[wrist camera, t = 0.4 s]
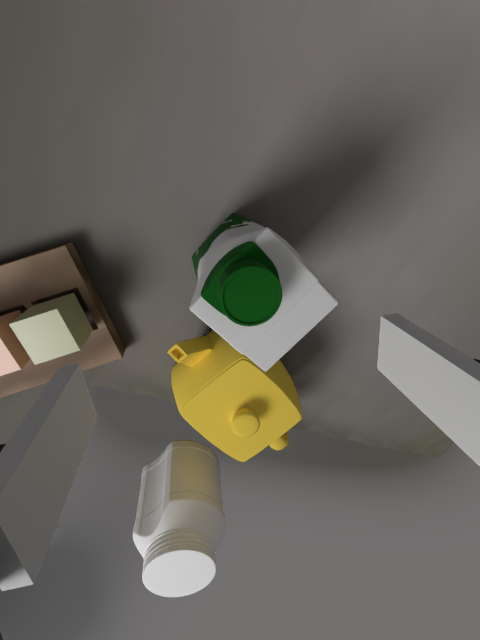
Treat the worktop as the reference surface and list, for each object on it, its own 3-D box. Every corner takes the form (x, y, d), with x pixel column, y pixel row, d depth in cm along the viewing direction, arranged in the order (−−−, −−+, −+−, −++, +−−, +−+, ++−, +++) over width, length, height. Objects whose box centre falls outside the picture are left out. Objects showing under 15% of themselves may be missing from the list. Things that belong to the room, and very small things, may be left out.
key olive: (31, 305, 35) (8, 324, 30) (73, 292, 35) (56, 308, 30) (53, 342, 37) (34, 365, 32) (93, 329, 37) (80, 350, 32)
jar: (178, 504, 53) (176, 614, 40) (131, 477, 50) (110, 588, 36) (229, 461, 52) (245, 561, 38) (184, 429, 48) (183, 528, 34)
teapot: (140, 345, 42) (124, 401, 31) (213, 283, 40) (223, 318, 30) (239, 431, 50) (253, 499, 39) (303, 381, 48) (337, 438, 37)
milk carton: (232, 200, 37) (277, 216, 19) (284, 255, 40) (366, 314, 22) (180, 257, 38) (175, 322, 20) (234, 306, 42) (272, 400, 24)
